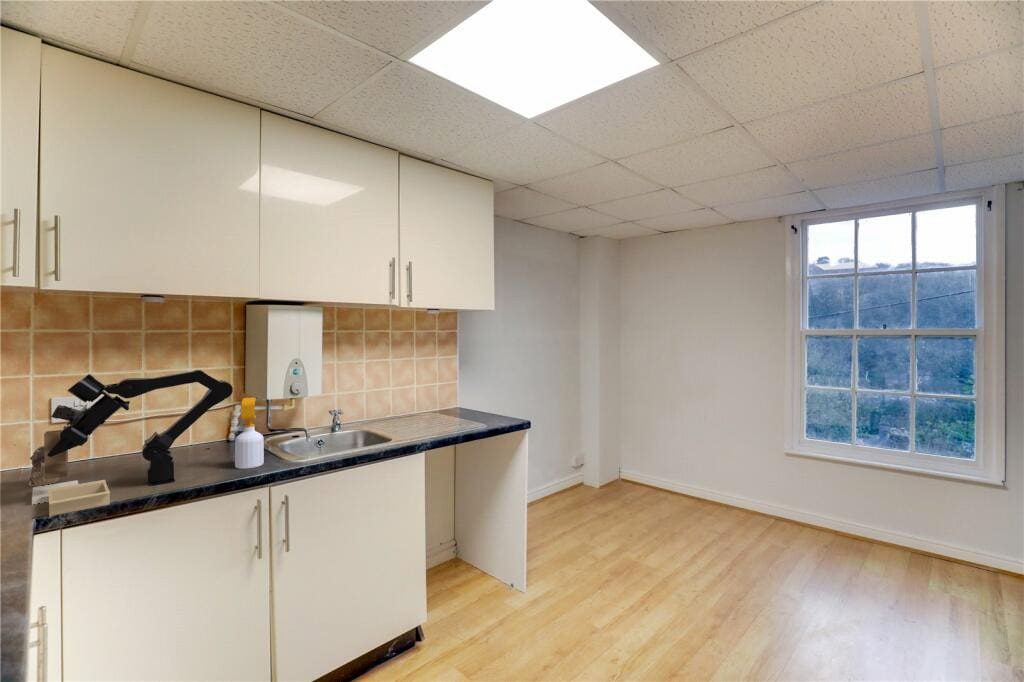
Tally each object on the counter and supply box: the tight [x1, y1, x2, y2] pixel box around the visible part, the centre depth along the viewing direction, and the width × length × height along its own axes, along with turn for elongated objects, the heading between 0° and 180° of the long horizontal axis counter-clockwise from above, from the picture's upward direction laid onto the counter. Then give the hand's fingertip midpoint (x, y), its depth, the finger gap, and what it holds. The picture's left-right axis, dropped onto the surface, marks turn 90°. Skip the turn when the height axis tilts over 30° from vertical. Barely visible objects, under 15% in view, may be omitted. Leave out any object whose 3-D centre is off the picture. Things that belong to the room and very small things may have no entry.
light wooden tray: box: [48, 479, 111, 517], centre depth 133 cm, size 12×15×4 cm
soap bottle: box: [234, 397, 265, 470], centre depth 171 cm, size 9×9×25 cm
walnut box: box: [43, 429, 69, 479], centre depth 138 cm, size 4×4×13 cm
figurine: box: [28, 445, 61, 487], centre depth 151 cm, size 7×7×12 cm
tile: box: [31, 479, 80, 506], centre depth 141 cm, size 10×14×2 cm
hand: (49, 454), depth 137 cm, fingers closed on walnut box, 4 cm apart
